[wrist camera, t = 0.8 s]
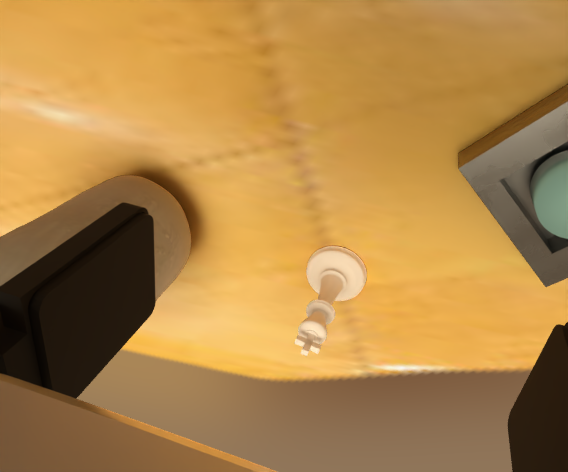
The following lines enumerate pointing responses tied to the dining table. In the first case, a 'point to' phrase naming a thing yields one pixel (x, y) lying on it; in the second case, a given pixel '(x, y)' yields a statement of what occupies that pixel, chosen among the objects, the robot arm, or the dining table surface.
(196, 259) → the dining table surface
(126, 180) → the grey bottle
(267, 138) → the dining table surface
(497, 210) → the button panel
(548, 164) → the teal button
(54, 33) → the dining table surface
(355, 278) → the chess piece
